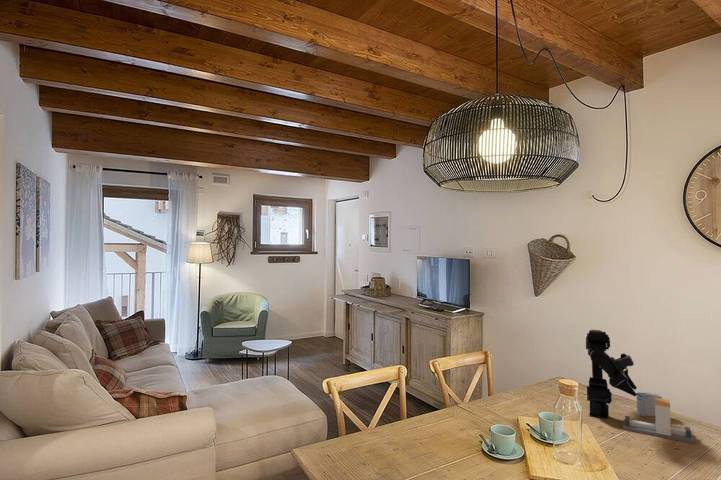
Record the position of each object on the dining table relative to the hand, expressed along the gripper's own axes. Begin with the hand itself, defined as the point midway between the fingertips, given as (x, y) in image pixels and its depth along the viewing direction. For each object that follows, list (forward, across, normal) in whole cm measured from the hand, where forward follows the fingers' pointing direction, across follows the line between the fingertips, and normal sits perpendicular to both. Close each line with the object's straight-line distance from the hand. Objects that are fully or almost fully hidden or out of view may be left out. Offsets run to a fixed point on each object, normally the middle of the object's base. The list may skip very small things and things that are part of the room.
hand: (636, 392), depth 165 cm
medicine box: (+13, +16, +6) cm, 22 cm away
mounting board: (+14, -2, +5) cm, 15 cm away
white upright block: (+15, -2, +3) cm, 15 cm away
